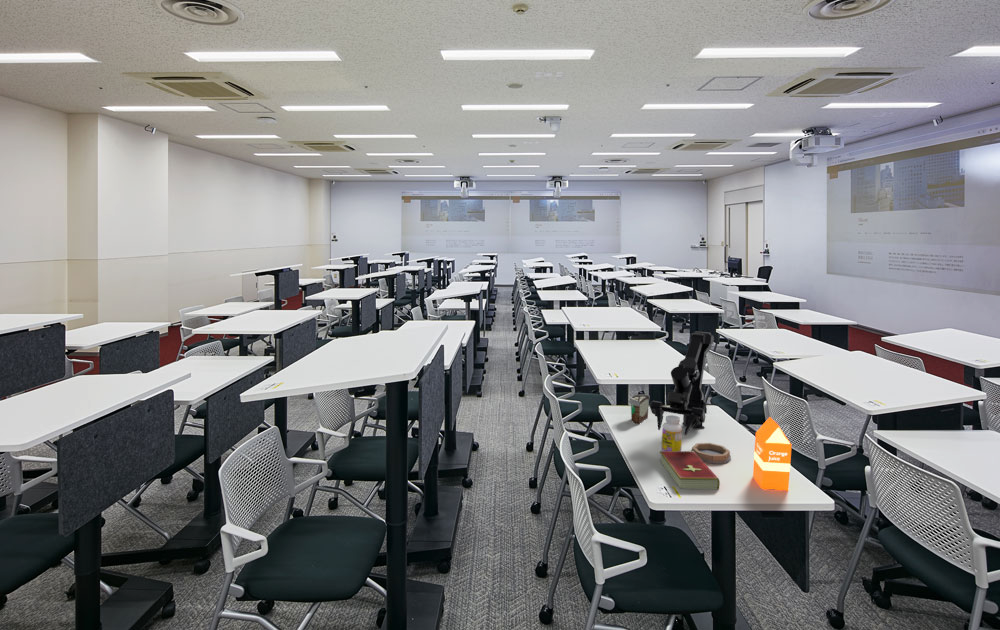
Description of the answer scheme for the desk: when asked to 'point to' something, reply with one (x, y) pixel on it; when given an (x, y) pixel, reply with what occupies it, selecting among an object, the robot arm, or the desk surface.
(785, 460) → the orange juice
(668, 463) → the hardcover book
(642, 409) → the food container
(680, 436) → the supplement bottle
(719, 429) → the desk surface
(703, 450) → the coaster ring
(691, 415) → the robot arm
